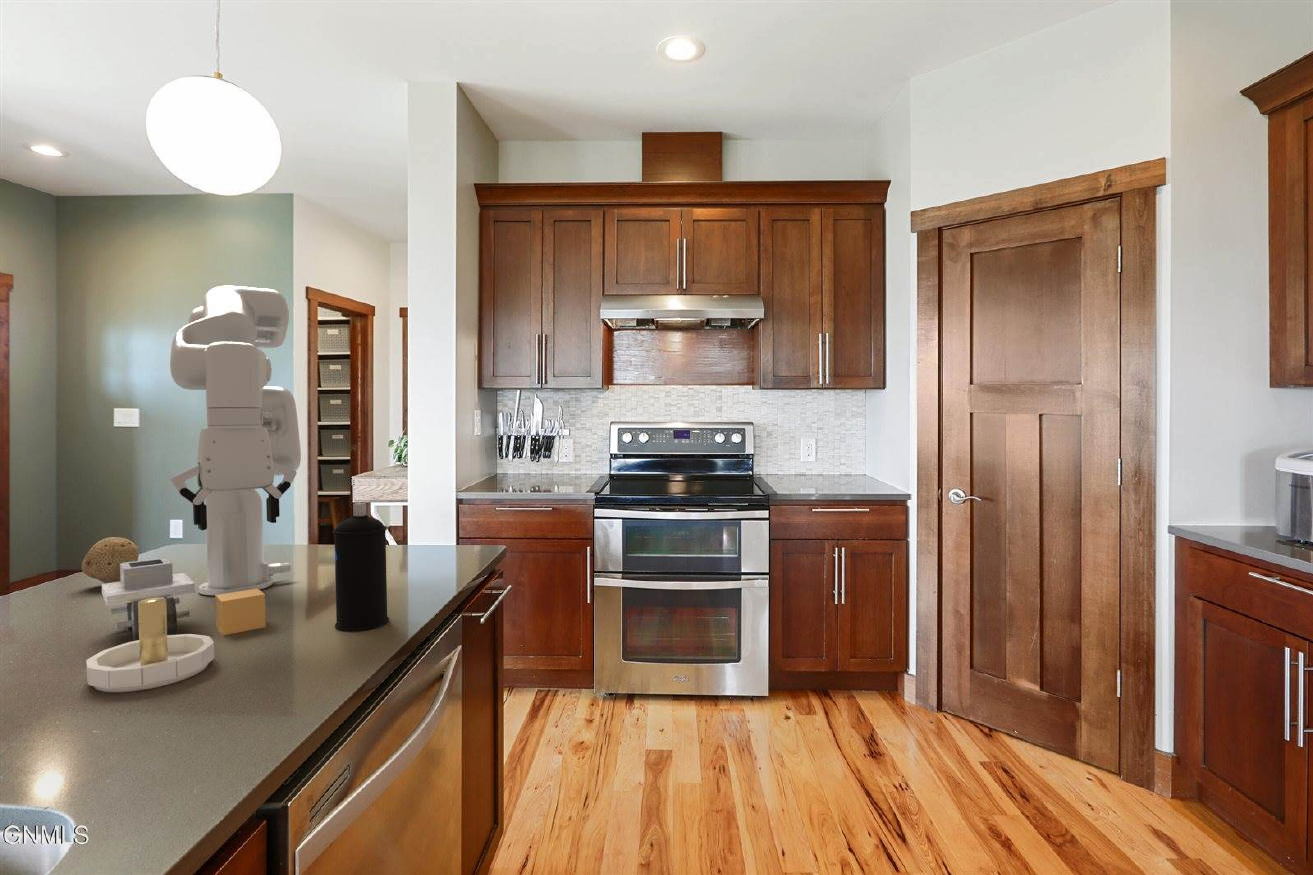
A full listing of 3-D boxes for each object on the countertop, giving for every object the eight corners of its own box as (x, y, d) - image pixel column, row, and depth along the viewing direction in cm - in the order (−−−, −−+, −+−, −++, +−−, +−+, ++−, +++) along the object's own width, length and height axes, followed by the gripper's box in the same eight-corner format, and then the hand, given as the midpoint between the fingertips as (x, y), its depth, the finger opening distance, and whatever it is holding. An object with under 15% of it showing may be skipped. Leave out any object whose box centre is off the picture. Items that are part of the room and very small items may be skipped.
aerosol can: (399, 618, 113) (397, 501, 112) (363, 634, 105) (361, 508, 104) (361, 614, 115) (358, 499, 115) (323, 629, 108) (320, 505, 107)
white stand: (183, 613, 117) (182, 553, 116) (200, 635, 105) (198, 569, 105) (102, 627, 109) (100, 563, 109) (110, 652, 97) (108, 581, 97)
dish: (203, 648, 99) (202, 628, 99) (222, 673, 89) (221, 651, 89) (84, 672, 90) (83, 650, 90) (91, 703, 80) (90, 679, 80)
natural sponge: (77, 594, 129) (75, 543, 129) (89, 584, 137) (87, 535, 137) (136, 587, 134) (134, 538, 134) (144, 578, 142) (142, 531, 141)
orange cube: (258, 620, 113) (257, 588, 112) (265, 627, 109) (264, 594, 109) (216, 628, 109) (215, 595, 108) (222, 636, 105) (221, 601, 105)
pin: (166, 660, 92) (164, 596, 92) (169, 666, 90) (167, 600, 89) (139, 666, 90) (136, 600, 89) (141, 672, 88) (139, 605, 87)
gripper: (287, 419, 116) (290, 517, 116) (165, 420, 104) (168, 529, 105) (300, 419, 111) (303, 521, 111) (172, 420, 99) (176, 535, 99)
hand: (238, 525), depth 108 cm, fingers open, 9 cm apart
